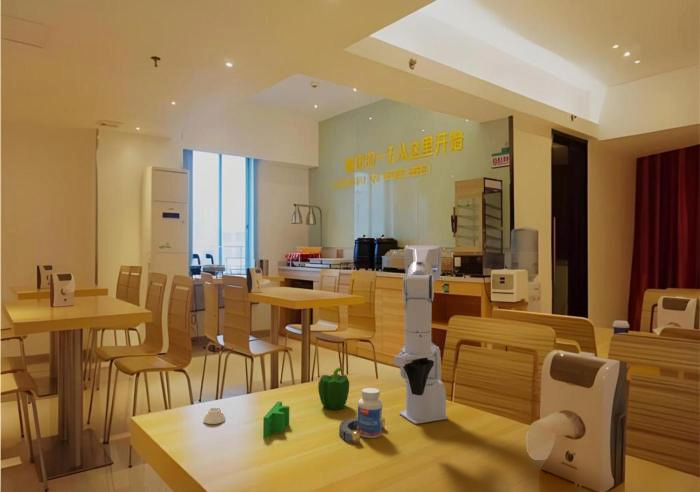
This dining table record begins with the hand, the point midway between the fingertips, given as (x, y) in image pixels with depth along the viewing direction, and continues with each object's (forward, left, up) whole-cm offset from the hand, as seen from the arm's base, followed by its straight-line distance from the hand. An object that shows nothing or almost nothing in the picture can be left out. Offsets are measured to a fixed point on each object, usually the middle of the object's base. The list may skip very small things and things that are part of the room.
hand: (417, 394), depth 99 cm
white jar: (+38, -29, -11) cm, 49 cm away
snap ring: (+9, -10, -10) cm, 17 cm away
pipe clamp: (+26, -19, -11) cm, 34 cm away
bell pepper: (+8, -28, -11) cm, 31 cm away
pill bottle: (+7, -8, -11) cm, 15 cm away
